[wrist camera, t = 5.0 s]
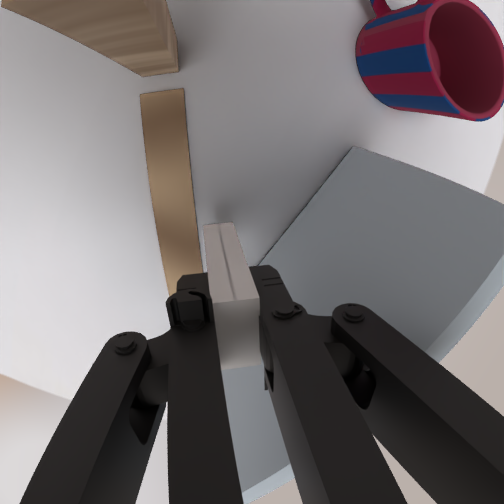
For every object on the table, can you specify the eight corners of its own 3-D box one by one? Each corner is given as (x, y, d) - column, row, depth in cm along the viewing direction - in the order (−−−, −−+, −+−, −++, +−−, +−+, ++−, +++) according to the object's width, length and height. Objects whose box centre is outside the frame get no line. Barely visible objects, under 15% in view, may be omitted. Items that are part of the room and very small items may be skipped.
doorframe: (137, 44, 14) (-16, -96, 1) (180, 38, 14) (140, -156, 1) (195, 397, 25) (211, 563, 12) (222, 394, 26) (250, 560, 12)
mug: (379, 124, 18) (451, 139, 12) (311, -16, 14) (363, -60, 8) (447, 94, 18) (519, 103, 12) (392, -31, 13) (455, -60, 7)
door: (232, 348, 23) (264, 509, 12) (202, 334, 22) (219, 504, 11) (379, 172, 19) (541, 258, 8) (353, 146, 18) (527, 216, 7)
